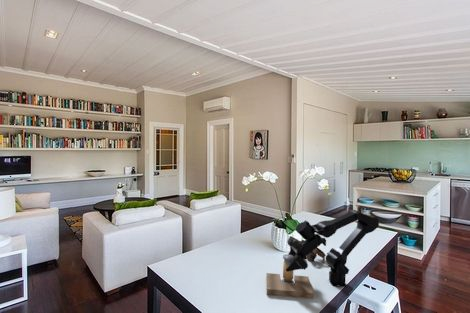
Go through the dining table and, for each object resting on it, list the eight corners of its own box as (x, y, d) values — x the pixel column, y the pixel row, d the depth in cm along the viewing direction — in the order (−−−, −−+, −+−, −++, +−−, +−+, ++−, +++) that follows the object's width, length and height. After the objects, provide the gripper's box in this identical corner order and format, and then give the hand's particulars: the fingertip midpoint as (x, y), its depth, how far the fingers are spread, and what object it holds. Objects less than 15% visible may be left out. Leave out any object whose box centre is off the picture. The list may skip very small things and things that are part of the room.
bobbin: (293, 281, 120) (294, 254, 120) (294, 287, 114) (295, 259, 114) (281, 280, 121) (282, 253, 120) (282, 286, 115) (283, 258, 115)
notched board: (308, 281, 120) (308, 276, 120) (313, 298, 106) (313, 293, 106) (266, 278, 122) (266, 273, 122) (266, 294, 108) (266, 289, 108)
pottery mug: (308, 255, 150) (315, 244, 149) (321, 267, 145) (329, 256, 144) (301, 257, 141) (309, 245, 140) (315, 270, 135) (323, 257, 134)
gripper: (295, 225, 126) (273, 245, 127) (300, 239, 107) (274, 262, 109) (311, 242, 125) (288, 261, 127) (319, 258, 106) (292, 281, 108)
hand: (285, 265), depth 117 cm, fingers open, 9 cm apart
